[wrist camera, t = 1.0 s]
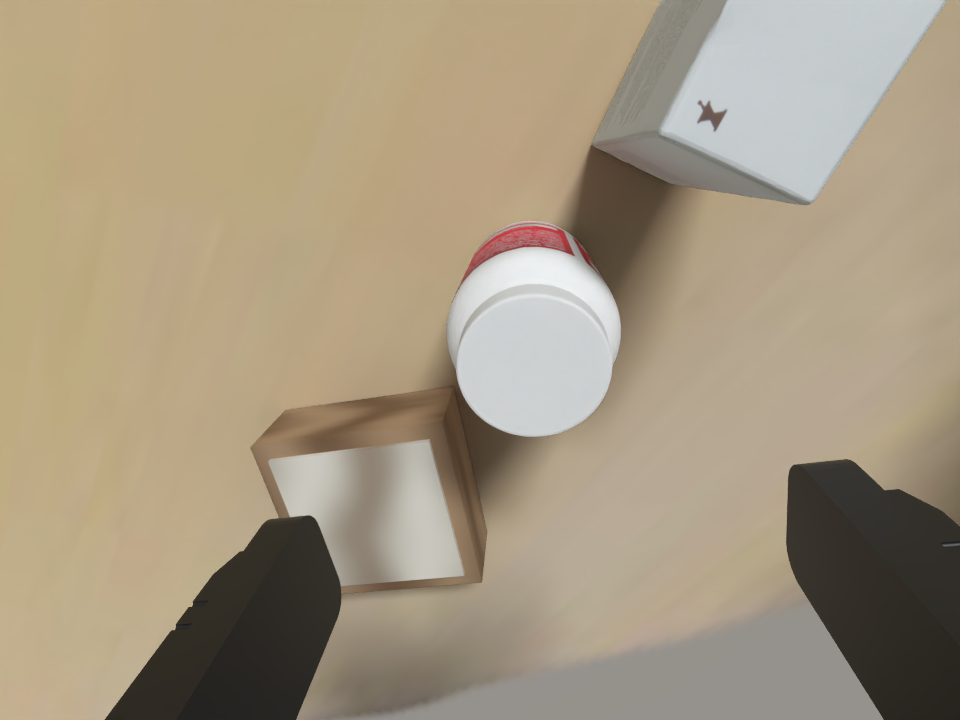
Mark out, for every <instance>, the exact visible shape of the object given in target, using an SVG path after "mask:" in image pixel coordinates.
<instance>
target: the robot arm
mask: <svg viewBox="0 0 960 720" xmlns="http://www.w3.org/2000/svg"><path fill="white" fill-rule="evenodd" d="M786 545H787V552H788V557H789V561H790V565H791V568H792V570H793V573H794V575H795V578H796V580H797V582H798V584H799V585H800V587H801V589H802V590H803V592H804V593H805V595H806V597H807V598H808V600H809V601H810V603H811V605H812V606H813V608H814V609H815V611H816V612H817V614H818V615H819V617H820V619H821V620H822V622H823V623H824V625H825V627H826V628H827V630H828V632H829V633H830V634H831V636H832V638H833V639H834V641H835V643H836V644H837V646H838V647H839V649H840V651H841V652H842V654H843V655H844V657H845V659H846V660H847V662H848V663H849V665H850V666H851V668H852V670H853V671H854V673H855V674H856V676H857V678H858V679H859V681H860V682H861V684H862V686H863V687H864V689H865V690H866V692H867V693H868V695H869V697H870V698H871V700H872V701H873V703H874V704H875V706H876V708H877V709H878V711H879V712H880V714H881V716H882V717H883V719H884V720H960V526H959V525H957V524H956V523H955V522H954V521H953V520H952V519H950V518H949V517H948V516H947V515H946V514H945V513H943V512H942V511H941V510H939V509H937V508H935V507H933V506H931V505H929V504H927V503H925V502H923V501H921V500H919V499H917V498H915V497H913V496H911V495H909V494H907V493H905V492H903V491H901V490H899V489H896V490H886V491H885V490H884V489H883V488H881V487H880V486H879V485H878V484H877V483H876V482H875V481H874V480H873V479H872V478H871V477H870V476H869V475H868V474H867V473H866V472H865V471H863V470H862V469H861V468H860V467H859V466H858V465H857V464H856V463H855V462H853V461H851V460H848V459H844V460H835V461H825V462H816V463H806V464H797V465H793V466H792V467H791V469H790V471H789V477H788V504H787V536H786ZM340 606H341V584H340V580H339V577H338V574H337V571H336V569H335V566H334V564H333V561H332V558H331V556H330V553H329V550H328V548H327V545H326V543H325V540H324V537H323V535H322V532H321V529H320V527H319V525H318V522H317V521H316V519H315V518H314V517H312V516H310V515H306V516H296V517H287V518H278V519H270V520H267V521H266V522H265V523H264V524H263V525H262V526H261V527H260V529H259V530H258V532H257V533H256V534H255V536H254V537H253V539H252V540H251V541H250V543H249V544H248V546H247V547H246V548H245V550H244V551H241V552H239V553H238V554H237V555H235V556H234V557H233V558H232V559H231V560H230V561H228V562H227V563H226V564H225V565H224V566H223V567H221V568H220V569H219V570H218V571H217V572H216V573H214V574H213V575H212V577H211V578H210V579H209V581H208V582H207V583H206V585H205V586H204V587H203V589H202V590H201V591H200V593H199V594H198V595H197V597H196V598H195V599H194V601H193V606H192V607H188V609H187V610H186V611H185V613H184V614H183V615H182V617H181V618H180V619H179V621H178V622H177V624H176V629H175V630H172V631H171V632H170V633H169V634H168V636H167V637H166V638H165V640H164V641H163V642H162V644H161V645H160V646H159V648H158V649H157V650H156V652H155V653H154V654H153V656H152V657H151V658H150V660H149V661H148V662H147V664H146V665H145V666H144V668H143V669H142V670H141V672H140V673H139V674H138V676H137V677H136V678H135V680H134V681H133V683H132V684H131V685H130V687H129V688H128V689H127V691H126V692H125V693H124V695H123V696H122V697H121V699H120V700H119V701H118V703H117V704H116V705H115V707H114V708H113V709H112V711H111V712H110V713H109V715H108V716H107V717H106V719H105V720H296V718H297V716H298V713H299V711H300V708H301V706H302V704H303V701H304V699H305V696H306V694H307V691H308V689H309V686H310V684H311V682H312V679H313V677H314V674H315V672H316V669H317V667H318V664H319V662H320V660H321V657H322V655H323V652H324V650H325V647H326V645H327V642H328V640H329V637H330V635H331V633H332V630H333V628H334V625H335V623H336V620H337V618H338V615H339V611H340Z"/></svg>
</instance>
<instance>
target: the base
mask: <svg viewBox="0 0 960 720" xmlns="http://www.w3.org/2000/svg"><path fill="white" fill-rule="evenodd" d="M250 448H251V450H252V453H253V455H254V458H255V460H256V463H257V465H258V467H259V470H260V472H261V475H262V477H263V480H264V482H265V484H266V487H267V489H268V492H269V494H270V497H271V499H272V501H273V504H274V506H275V509H276V511H277V514H278V516H279V518H287V517H296V516H306V515H310V516H312V517H314V518H315V519H316V521H317V522H318V525H319V527H320V529H321V532H322V535H323V537H324V540H325V543H326V545H327V548H328V550H329V553H330V556H331V558H332V561H333V564H334V566H335V569H336V571H337V574H338V577H339V580H340V584H341V594H344V593H357V592H369V591H382V590H394V589H406V588H419V587H431V586H444V585H456V584H468V583H481V582H482V577H483V567H484V558H485V548H486V538H487V529H486V524H485V520H484V516H483V512H482V507H481V503H480V499H479V494H478V490H477V486H476V481H475V477H474V473H473V468H472V464H471V460H470V455H469V451H468V447H467V442H466V438H465V434H464V429H463V425H462V421H461V417H460V412H459V408H458V404H457V399H456V395H455V391H454V387H447V388H440V389H433V390H426V391H419V392H412V393H405V394H398V395H391V396H383V397H376V398H369V399H362V400H355V401H348V402H341V403H334V404H327V405H319V406H312V407H305V408H298V409H291V410H285V411H284V412H283V413H282V414H281V415H280V416H279V417H278V419H277V420H276V421H275V422H274V423H273V424H272V425H271V426H270V427H269V428H268V429H267V430H266V431H265V432H264V433H263V435H262V436H261V437H260V438H259V439H258V440H257V441H256V442H255V443H254V444H253V445H252V446H251V447H250Z"/></svg>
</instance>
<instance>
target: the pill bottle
mask: <svg viewBox="0 0 960 720" xmlns="http://www.w3.org/2000/svg"><path fill="white" fill-rule="evenodd" d="M620 339H621V323H620V316H619V311H618V308H617V305H616V302H615V300H614V297H613V295H612V293H611V291H610V289H609V287H608V286H607V284H606V283H605V281H604V279H603V278H602V276H601V275H600V273H599V272H598V270H597V269H596V267H595V265H594V264H593V262H592V260H591V258H590V257H589V255H588V253H587V252H586V250H585V249H584V247H583V246H582V245H581V244H580V243H579V241H578V240H577V239H576V238H574V237H573V236H572V235H571V234H570V233H568V232H567V231H565V230H564V229H562V228H560V227H558V226H555V225H553V224H550V223H546V222H540V221H522V222H517V223H513V224H510V225H507V226H505V227H503V228H501V229H499V230H498V231H496V232H495V233H493V234H492V235H491V236H489V237H488V238H487V239H486V240H485V241H484V242H483V243H482V245H481V246H480V247H479V248H478V250H477V251H476V253H475V255H474V256H473V258H472V260H471V263H470V265H469V267H468V269H467V271H466V273H465V275H464V277H463V279H462V282H461V284H460V286H459V288H458V290H457V292H456V294H455V296H454V299H453V301H452V304H451V307H450V311H449V315H448V320H447V344H448V349H449V353H450V357H451V360H452V362H453V365H454V367H455V369H456V375H457V380H458V384H459V387H460V390H461V392H462V394H463V396H464V398H465V400H466V402H467V403H468V405H469V406H470V407H471V409H472V410H473V411H474V412H475V413H476V414H477V415H478V416H479V417H480V418H481V419H483V420H484V421H485V422H486V423H488V424H490V425H491V426H493V427H495V428H497V429H499V430H501V431H504V432H507V433H510V434H514V435H518V436H525V437H542V436H549V435H553V434H557V433H560V432H563V431H566V430H568V429H570V428H572V427H574V426H576V425H578V424H579V423H581V422H582V421H583V420H585V419H586V418H587V417H588V416H590V415H591V414H592V413H593V412H594V411H595V410H596V408H597V407H598V405H599V404H600V403H601V402H602V400H603V398H604V396H605V394H606V392H607V390H608V387H609V384H610V381H611V376H612V366H613V364H614V362H615V360H616V357H617V354H618V350H619V346H620Z"/></svg>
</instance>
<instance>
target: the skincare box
mask: <svg viewBox="0 0 960 720" xmlns="http://www.w3.org/2000/svg"><path fill="white" fill-rule="evenodd" d="M946 1H947V0H663V1H662V2H661V3H660V4H659V6H658V8H657V10H656V12H655V14H654V16H653V18H652V20H651V22H650V24H649V27H648V29H647V31H646V33H645V35H644V37H643V39H642V41H641V43H640V45H639V47H638V49H637V51H636V53H635V55H634V57H633V59H632V62H631V64H630V66H629V68H628V70H627V72H626V74H625V76H624V78H623V80H622V82H621V84H620V86H619V88H618V90H617V92H616V94H615V96H614V99H613V101H612V103H611V105H610V107H609V109H608V111H607V113H606V115H605V117H604V119H603V121H602V123H601V126H600V128H599V130H598V132H597V134H596V136H595V138H594V140H593V142H592V146H593V147H595V148H597V149H600V150H602V151H604V152H606V153H608V154H610V155H612V156H614V157H616V158H617V159H619V160H621V161H623V162H625V163H628V164H630V165H632V166H634V167H636V168H638V169H640V170H642V171H644V172H647V173H649V174H651V175H653V176H655V177H657V178H659V179H662V180H664V181H666V182H668V183H670V184H674V185H681V186H686V187H692V188H698V189H704V190H711V191H717V192H723V193H730V194H737V195H741V196H748V197H755V198H760V199H769V200H776V201H781V202H786V203H791V204H799V205H808V204H811V203H813V202H814V201H815V199H816V198H817V196H818V195H819V193H820V191H821V190H822V189H823V187H824V186H825V184H826V183H827V181H828V180H829V178H830V177H831V175H832V174H833V172H834V171H835V169H836V168H837V166H838V165H839V163H840V162H841V160H842V159H843V157H844V156H845V154H846V153H847V151H848V150H849V148H850V147H851V145H852V144H853V142H854V141H855V139H856V138H857V136H858V135H859V133H860V132H861V130H862V129H863V127H864V126H865V124H866V123H867V121H868V120H869V118H870V117H871V115H872V114H873V112H874V111H875V109H876V108H877V106H878V105H879V103H880V102H881V100H882V99H883V97H884V96H885V94H886V93H887V91H888V89H889V88H890V86H891V85H892V83H893V82H894V80H895V79H896V77H897V76H898V74H899V73H900V71H901V70H902V68H903V66H904V65H905V63H906V62H907V60H908V59H909V57H910V56H911V54H912V53H913V51H914V50H915V48H916V47H917V45H918V44H919V42H920V41H921V39H922V38H923V36H924V34H925V33H926V31H927V30H928V28H929V27H930V25H931V24H932V22H933V21H934V19H935V18H936V16H937V15H938V13H939V12H940V10H941V9H942V7H943V6H944V4H945V3H946Z"/></svg>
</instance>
